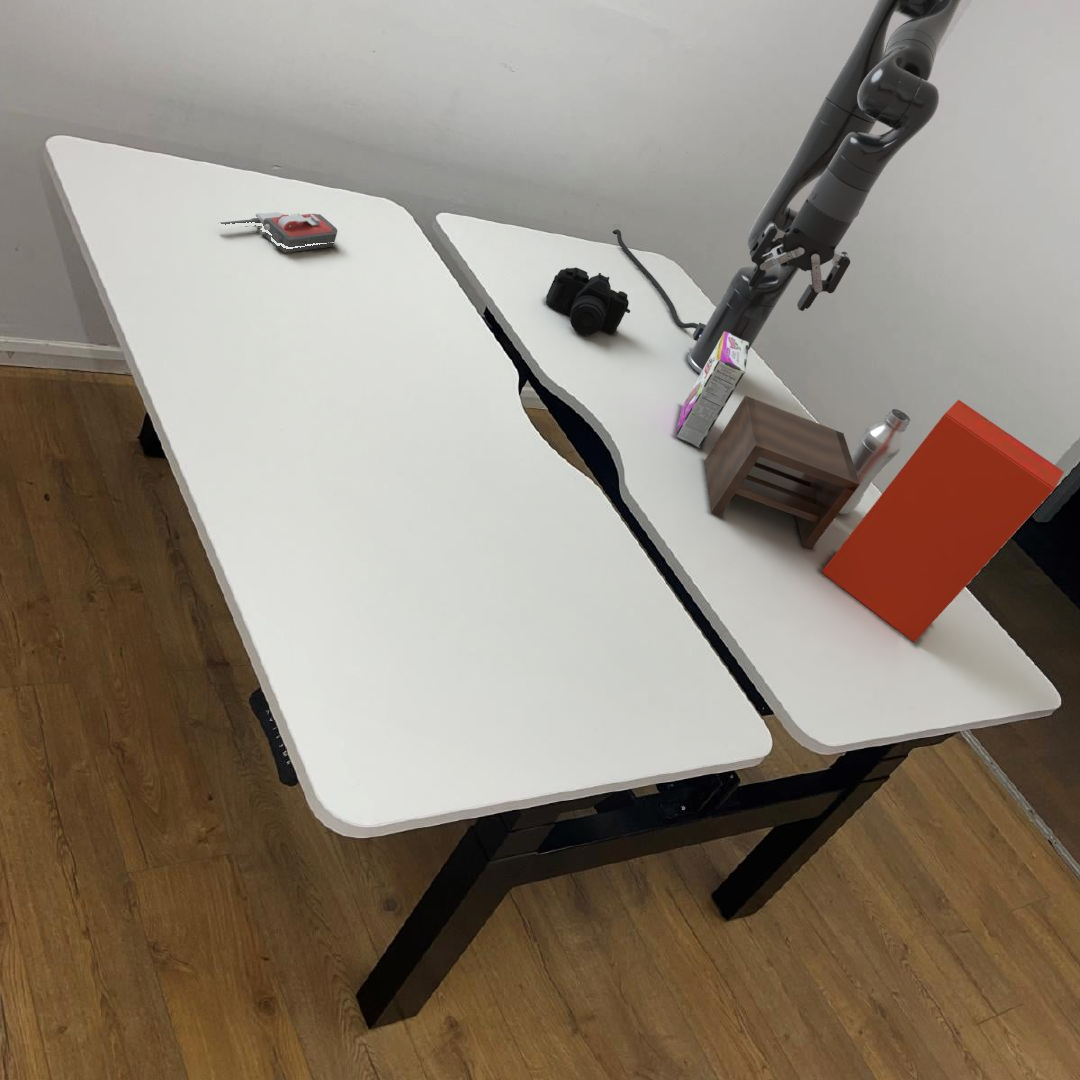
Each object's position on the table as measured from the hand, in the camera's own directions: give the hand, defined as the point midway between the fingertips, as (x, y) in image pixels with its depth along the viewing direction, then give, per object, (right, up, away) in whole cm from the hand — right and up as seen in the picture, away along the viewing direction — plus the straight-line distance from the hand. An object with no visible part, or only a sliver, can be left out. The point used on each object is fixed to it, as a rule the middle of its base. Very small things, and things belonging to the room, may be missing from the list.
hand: (775, 298), depth 163 cm
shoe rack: (-1, -32, +8) cm, 33 cm away
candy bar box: (-11, -18, +18) cm, 28 cm away
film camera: (-29, +2, +31) cm, 42 cm away
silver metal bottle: (+14, -32, +17) cm, 39 cm away
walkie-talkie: (-80, +12, +11) cm, 82 cm away
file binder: (+16, -47, +1) cm, 49 cm away
